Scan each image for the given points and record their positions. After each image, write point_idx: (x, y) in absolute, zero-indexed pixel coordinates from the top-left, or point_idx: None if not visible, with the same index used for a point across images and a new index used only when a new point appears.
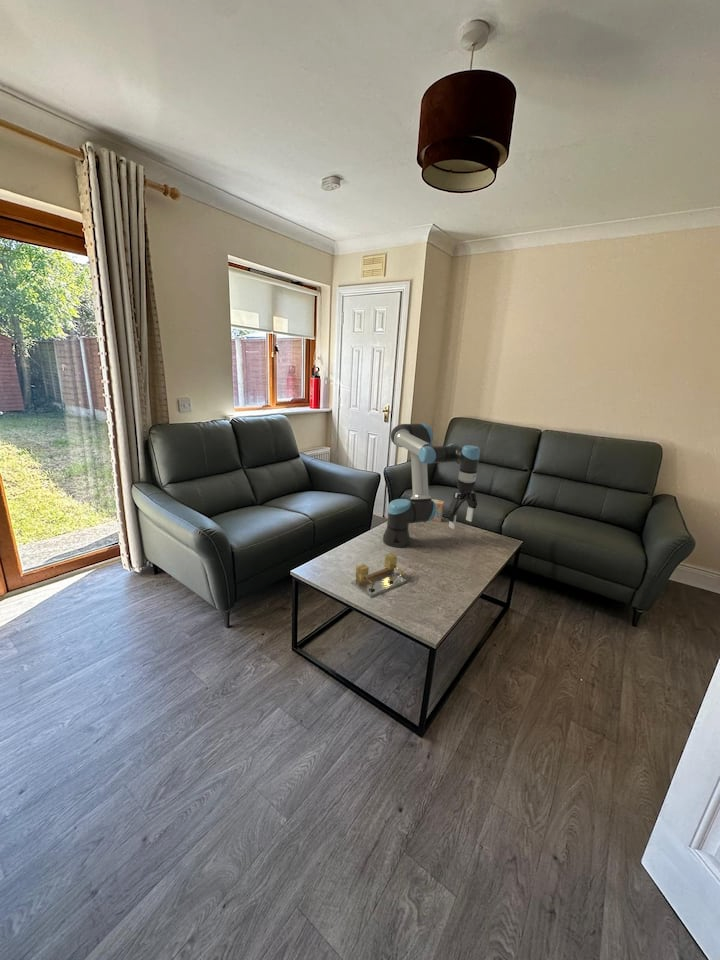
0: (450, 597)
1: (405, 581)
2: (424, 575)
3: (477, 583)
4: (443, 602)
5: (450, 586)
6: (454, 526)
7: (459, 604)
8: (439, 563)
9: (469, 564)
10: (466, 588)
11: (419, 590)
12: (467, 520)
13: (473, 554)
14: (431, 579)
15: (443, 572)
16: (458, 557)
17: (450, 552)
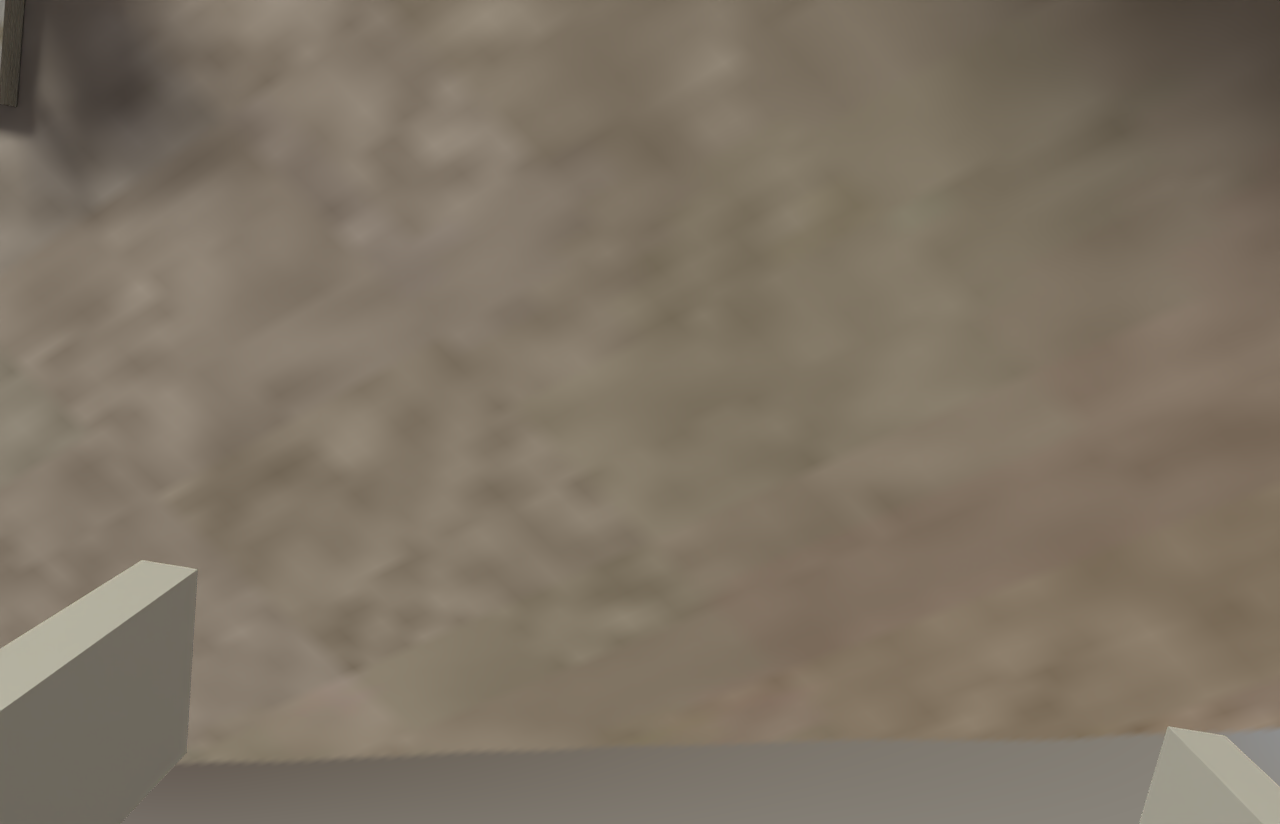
0: None
1: (6, 104)
2: (312, 193)
3: (607, 713)
4: (27, 608)
5: (334, 530)
6: (121, 795)
7: None
8: (715, 179)
9: (962, 477)
10: (428, 668)
11: (6, 321)
12: (1150, 788)
13: (1274, 401)
14: (299, 303)
15: (546, 330)
16: (1050, 289)
17: (1120, 135)
